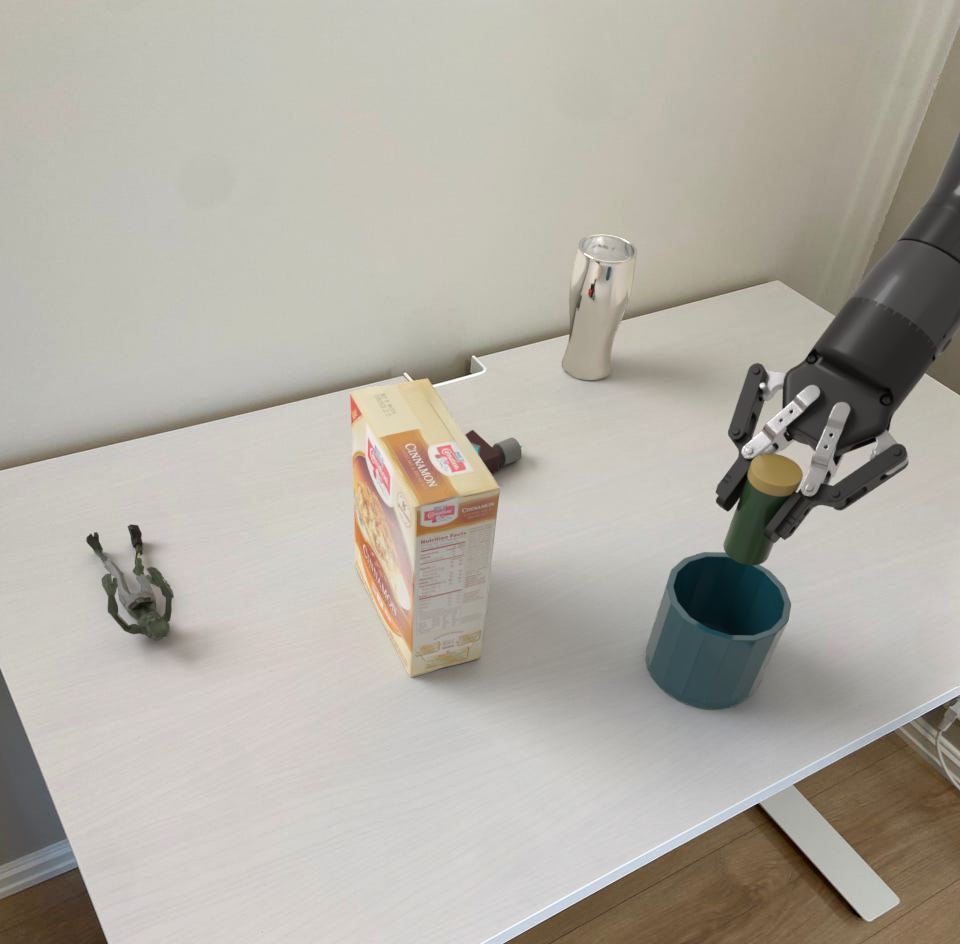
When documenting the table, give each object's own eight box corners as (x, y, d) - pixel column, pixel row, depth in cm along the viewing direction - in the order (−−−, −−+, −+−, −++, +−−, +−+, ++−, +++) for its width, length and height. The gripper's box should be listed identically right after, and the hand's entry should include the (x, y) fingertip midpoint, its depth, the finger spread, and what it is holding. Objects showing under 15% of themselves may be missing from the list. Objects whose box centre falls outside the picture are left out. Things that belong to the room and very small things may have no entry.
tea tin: (772, 541, 77) (805, 461, 71) (766, 572, 74) (800, 491, 68) (726, 528, 77) (754, 447, 71) (718, 558, 75) (747, 477, 69)
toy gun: (531, 463, 104) (536, 426, 100) (438, 500, 98) (441, 462, 95) (479, 416, 109) (482, 379, 105) (388, 449, 103) (388, 411, 100)
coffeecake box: (352, 565, 91) (346, 389, 77) (422, 548, 93) (430, 374, 79) (407, 680, 82) (413, 506, 68) (483, 659, 85) (504, 486, 70)
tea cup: (765, 641, 89) (797, 572, 82) (749, 724, 82) (782, 655, 75) (658, 609, 90) (680, 539, 84) (634, 688, 84) (656, 618, 77)
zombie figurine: (131, 484, 86) (179, 597, 78) (143, 540, 91) (189, 652, 83) (69, 498, 84) (111, 615, 76) (84, 555, 89) (126, 670, 81)
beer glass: (624, 364, 118) (649, 246, 107) (598, 390, 114) (621, 269, 103) (574, 344, 120) (594, 226, 109) (547, 368, 116) (565, 248, 105)
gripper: (803, 259, 69) (657, 460, 72) (984, 349, 62) (816, 565, 65) (819, 305, 75) (685, 487, 78) (984, 391, 69) (831, 585, 72)
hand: (745, 521), depth 72 cm, fingers closed on tea tin, 3 cm apart
